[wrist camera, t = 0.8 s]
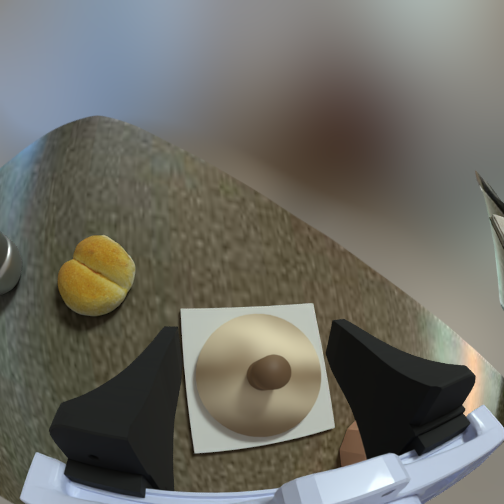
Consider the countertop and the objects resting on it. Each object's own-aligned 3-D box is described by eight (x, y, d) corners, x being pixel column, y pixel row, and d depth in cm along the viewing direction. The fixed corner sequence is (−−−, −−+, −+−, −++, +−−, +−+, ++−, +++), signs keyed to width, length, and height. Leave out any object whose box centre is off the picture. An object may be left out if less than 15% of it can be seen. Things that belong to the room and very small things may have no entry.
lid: (325, 421, 25) (347, 423, 21) (203, 443, 21) (208, 452, 18) (306, 312, 31) (324, 299, 27) (190, 318, 27) (193, 304, 24)
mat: (332, 427, 25) (334, 427, 25) (194, 452, 21) (194, 453, 20) (311, 304, 32) (312, 303, 32) (180, 310, 28) (180, 308, 27)
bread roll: (51, 293, 25) (37, 279, 21) (95, 235, 29) (88, 215, 26) (104, 335, 24) (94, 325, 21) (148, 269, 29) (145, 251, 26)
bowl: (405, 462, 24) (431, 464, 19) (344, 493, 21) (369, 502, 17) (398, 399, 28) (425, 394, 24) (335, 422, 25) (361, 423, 21)
